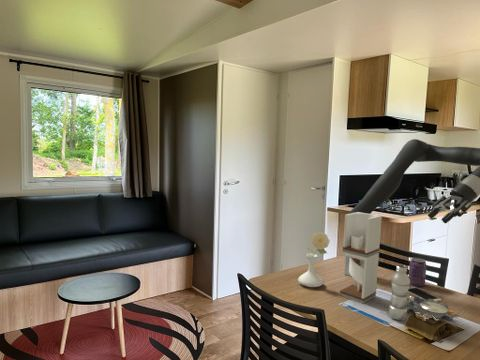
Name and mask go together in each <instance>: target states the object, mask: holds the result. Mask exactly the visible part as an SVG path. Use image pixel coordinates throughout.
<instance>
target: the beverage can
mask: <svg viewBox="0 0 480 360" xmlns="http://www.w3.org/2000/svg"><path fill="white" fill-rule="evenodd" d="M408 266H409V267H408V269H409V270H408V277H409V279H410V285H411V286H413V287H424V286H425V285H426V277H427V276H426V275H427V274H426V273H427V267H428V266H427V263H426V260H425V259H423V258H418V257H411V258H410V261H409V265H408Z"/></svg>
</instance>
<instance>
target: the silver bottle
mask: <svg viewBox="0 0 480 360" xmlns="http://www.w3.org/2000/svg"><path fill="white" fill-rule="evenodd" d="M395 271H396V272H395V273H394V274H393V275H392V276H391V278H390V279H391V299H390V304H389V306H388V315H389V317H390V318H392V319H393V320H396V321H404V320H406V319H407V318H408V313H407V298H408V294H409V292H408V289H409V287H410V285H411V284H410V279H409V275H408V274H407V273H408V267H407V266H406V265H403V264H396V269H395Z"/></svg>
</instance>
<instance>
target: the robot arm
mask: <svg viewBox="0 0 480 360" xmlns="http://www.w3.org/2000/svg"><path fill="white" fill-rule="evenodd" d="M420 162H421V163H422V162H444V163H451V164H456V165H457V164H458V165H464V166H472V167H473V166H475V167H476V169H474V170H473V171H472V172H471V173H470V174H469V175H468V176H467V177H465V178H463V179H462V180H461V181H460V182H459V183H458V184H457V185H456V186H454V187H453V188H452V190H450V196H449V197H448V196H447V197H446V196H445V195H443V196H441V197H440V198H438V200H436V201H435V202H434V203H433V204H432V205H431V206H432V207H433V209H432V210H431V211H429V212H428V213H427V217H428V218H429V219H431V220H432V219H434V218H435V217H436V216H437V215H438V214H439V213H441V212H442V211H447V210H449V212H447V213H446V214H445V215H444V216H443V217H442V218H441V222H443V224H447V223H449V222H450V221H451V220H452V219H453V218H456V217H462V216H463V215H464V214H465V213H466V212H467V211H468V210H469V209H471V207H472V205H471V203H472V202H474V201H475V199H477V198H478V197H480V147H471V146H469V147H468V146H450V147H449V146H438V145H433V144H431V143H427V142H425V141H423V140H420V139H416V138H413V139H409V140H408V141H407V142H406V143H405V144H404V145H403V146H402V147H401V149H400V151H399V152H398V154H397V155H396V157H395V158H394V159H393V161H392V162H391V163H390V165H388V167H387V168H386V169H385V170H384V172H383V173H382V174H381V175H380V176H379V178H378V179H377V180H376V181H375V182H374V183H373V185H372V186H371V187H370V189H368V191H367V192H366V194H365V195H364V197H362V199H361V200H360V201H359V202H358V203H357V204H356V205H355V206H354V207H353V208H352V209H351V210H349V212H348V214H351V213H356V212H361V213H367V214H372V213H373V212H374V210H376V209H377V208H378V207H380V206H381V205H382V204H383V203H385V202H386V201H387V200H388V199H390V198H391V196H393V194H394V193H395V192H396V191H397V189H398V188H399V187H400V185H401V183H402V179H403V176H404V175H405V173H406V171H407V170H408V169H409V167H410V166H412V165H413V163H420ZM344 262H345V264H344V275H345V276H348V277H352V276H351V275H350V273H349V263H350V257H349V256H345V261H344Z"/></svg>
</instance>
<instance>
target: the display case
mask: <svg viewBox="0 0 480 360" xmlns="http://www.w3.org/2000/svg"><path fill="white" fill-rule="evenodd" d="M382 218H383V216H382V215H379V214H378V215H376V214H372V213H371V214H367V213H361V212H356V213H351V214H347V213H346V214H344V224H343V225H344V227H343V239H342V241H343V243H342V253H341V254H342V256H345V257H346V256H349V257H350V263H349V273H350V275H351V276H352V279H353V280H354V283H352V284H351V285H348V286H346V287H344V288H342V289H340V290H339V296H341V297H344V298H346V299H348V300H352V301H355V302H357V303H360V302H361V303H360V304H363V303H364V304H365V303H367V302H368V301H370V300H373V298H375V297H376V293H377V282H378V271H379V257H380V244H381V232H382V231H381V228H382ZM351 276H350V277H351Z"/></svg>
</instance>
